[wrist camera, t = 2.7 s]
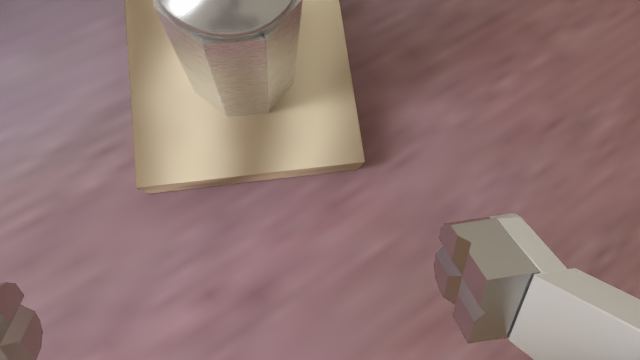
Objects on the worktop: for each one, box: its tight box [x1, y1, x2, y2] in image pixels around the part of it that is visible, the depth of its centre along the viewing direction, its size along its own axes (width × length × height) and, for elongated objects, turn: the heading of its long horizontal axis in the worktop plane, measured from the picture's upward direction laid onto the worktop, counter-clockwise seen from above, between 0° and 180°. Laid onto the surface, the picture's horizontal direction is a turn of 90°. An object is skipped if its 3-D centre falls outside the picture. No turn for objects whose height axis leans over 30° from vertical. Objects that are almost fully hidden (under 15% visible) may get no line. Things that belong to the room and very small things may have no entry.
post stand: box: [125, 0, 365, 194], centre depth 21 cm, size 12×12×8 cm
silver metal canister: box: [153, 0, 303, 117], centre depth 19 cm, size 5×5×8 cm
